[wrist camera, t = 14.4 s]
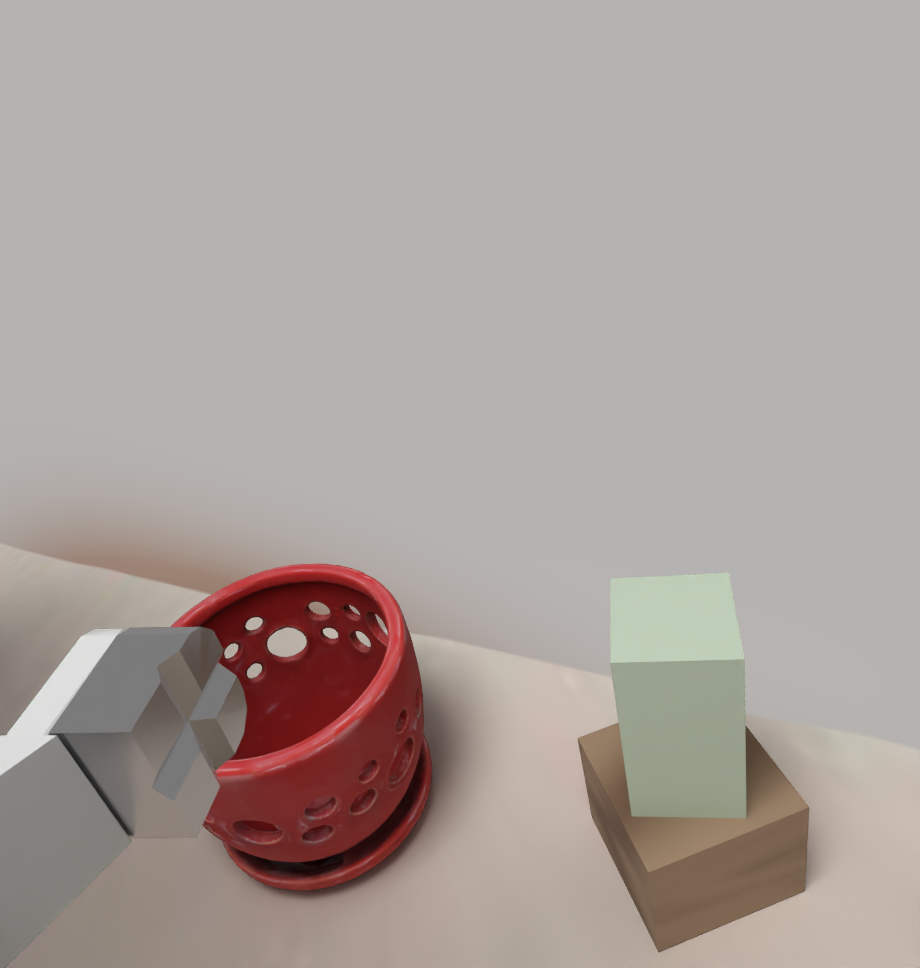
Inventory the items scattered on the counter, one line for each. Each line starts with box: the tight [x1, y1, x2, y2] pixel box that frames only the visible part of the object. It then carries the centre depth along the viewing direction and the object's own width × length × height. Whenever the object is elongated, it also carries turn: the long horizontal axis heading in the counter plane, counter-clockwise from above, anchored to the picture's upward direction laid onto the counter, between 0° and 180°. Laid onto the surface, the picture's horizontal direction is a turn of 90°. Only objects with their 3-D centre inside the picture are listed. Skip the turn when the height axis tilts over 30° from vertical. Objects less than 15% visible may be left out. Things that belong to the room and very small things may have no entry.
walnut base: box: [578, 723, 809, 952], centre depth 36 cm, size 7×7×6 cm
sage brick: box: [610, 573, 747, 819], centre depth 32 cm, size 4×4×9 cm
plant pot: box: [171, 564, 432, 890], centre depth 41 cm, size 13×13×12 cm
